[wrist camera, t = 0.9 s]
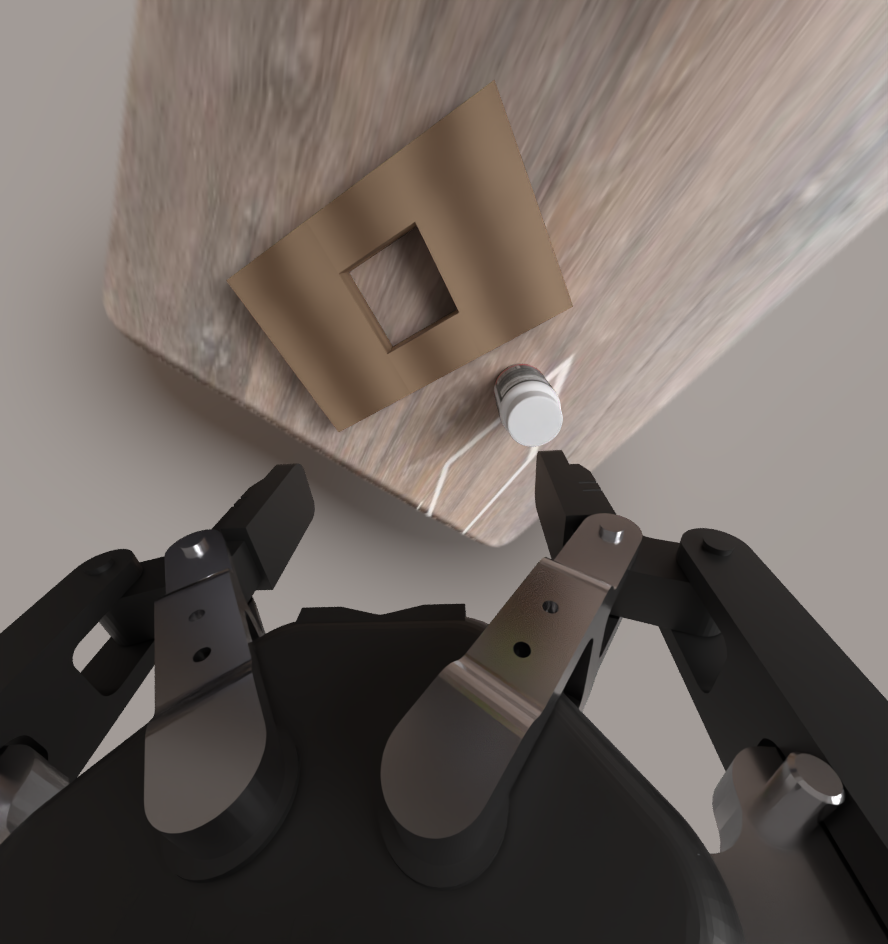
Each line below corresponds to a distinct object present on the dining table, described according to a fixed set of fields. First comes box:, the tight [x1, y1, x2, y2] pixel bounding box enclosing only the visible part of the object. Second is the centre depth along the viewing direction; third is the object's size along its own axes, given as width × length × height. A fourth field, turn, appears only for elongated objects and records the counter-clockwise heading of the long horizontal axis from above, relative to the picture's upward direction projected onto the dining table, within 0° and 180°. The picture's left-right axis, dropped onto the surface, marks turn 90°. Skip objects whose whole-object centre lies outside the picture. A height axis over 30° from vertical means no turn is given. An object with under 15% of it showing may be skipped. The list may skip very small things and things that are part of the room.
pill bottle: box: [494, 364, 563, 447], centre depth 31 cm, size 5×5×8 cm
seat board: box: [226, 80, 573, 432], centre depth 29 cm, size 22×14×3 cm, turn 119°
